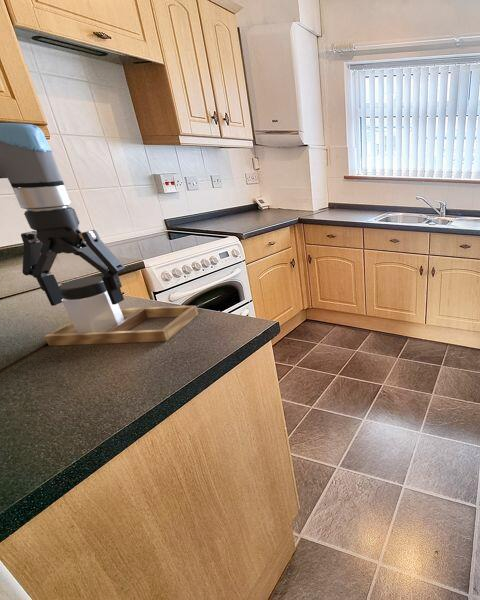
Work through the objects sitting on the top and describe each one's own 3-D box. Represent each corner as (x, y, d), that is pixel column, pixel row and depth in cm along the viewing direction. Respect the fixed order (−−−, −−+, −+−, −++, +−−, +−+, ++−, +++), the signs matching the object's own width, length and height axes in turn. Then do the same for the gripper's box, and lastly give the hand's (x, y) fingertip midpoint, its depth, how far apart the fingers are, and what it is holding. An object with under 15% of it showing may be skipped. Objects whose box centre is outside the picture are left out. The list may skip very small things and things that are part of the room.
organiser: (48, 346, 74) (43, 336, 73) (97, 318, 87) (93, 309, 86) (166, 341, 74) (163, 331, 73) (198, 314, 87) (196, 305, 86)
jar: (89, 324, 83) (67, 279, 78) (128, 317, 86) (110, 273, 81) (73, 341, 75) (49, 292, 70) (118, 333, 78) (97, 285, 73)
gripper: (123, 204, 72) (153, 295, 81) (5, 206, 72) (48, 297, 81) (95, 210, 66) (131, 308, 74) (-35, 212, 65) (16, 310, 74)
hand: (88, 302), depth 77 cm, fingers open, 13 cm apart
